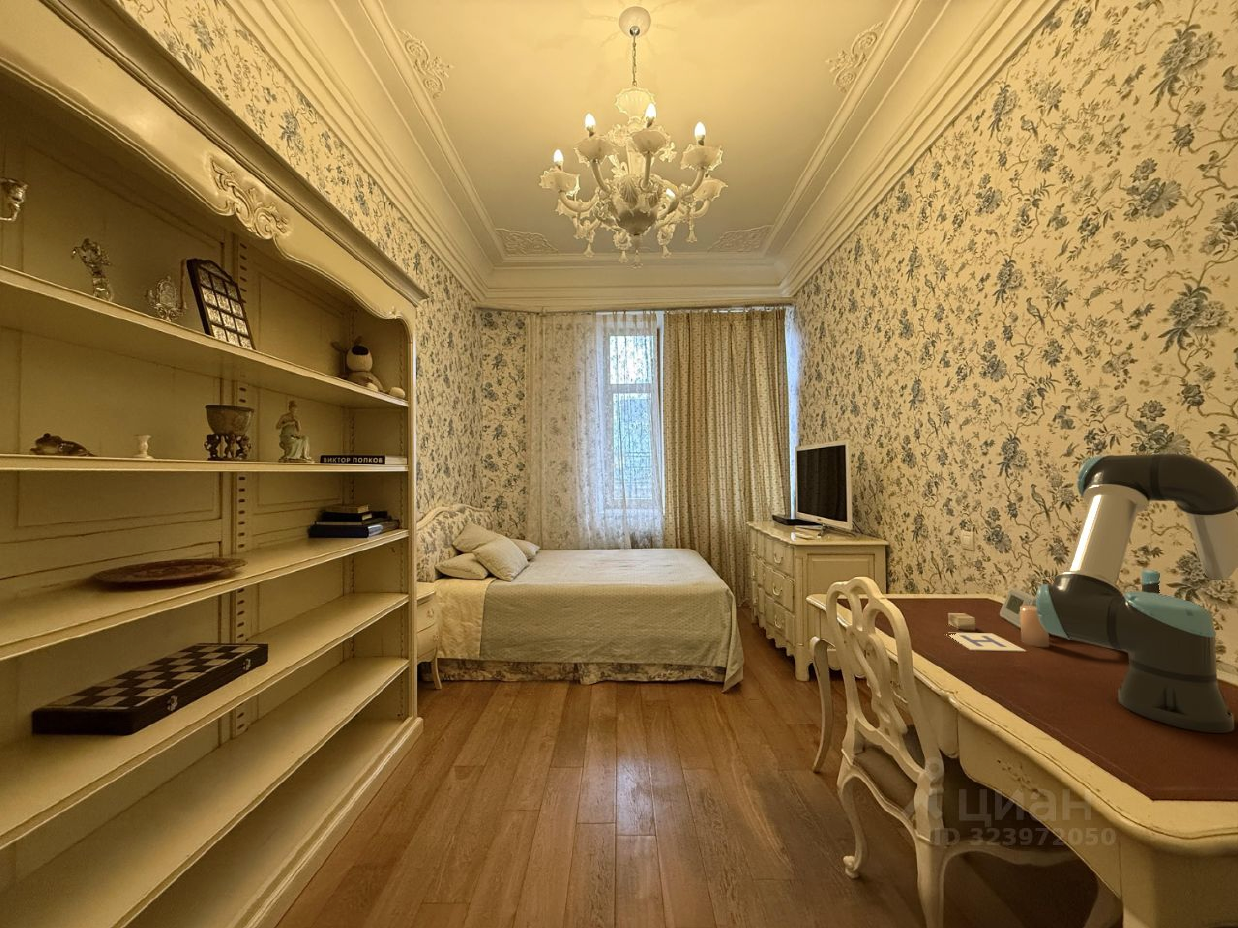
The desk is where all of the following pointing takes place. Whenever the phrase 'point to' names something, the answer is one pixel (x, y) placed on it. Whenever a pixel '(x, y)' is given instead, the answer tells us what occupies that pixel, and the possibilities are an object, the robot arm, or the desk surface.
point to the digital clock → (1016, 605)
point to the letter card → (985, 642)
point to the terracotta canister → (1032, 628)
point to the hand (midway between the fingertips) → (1040, 622)
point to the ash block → (961, 621)
